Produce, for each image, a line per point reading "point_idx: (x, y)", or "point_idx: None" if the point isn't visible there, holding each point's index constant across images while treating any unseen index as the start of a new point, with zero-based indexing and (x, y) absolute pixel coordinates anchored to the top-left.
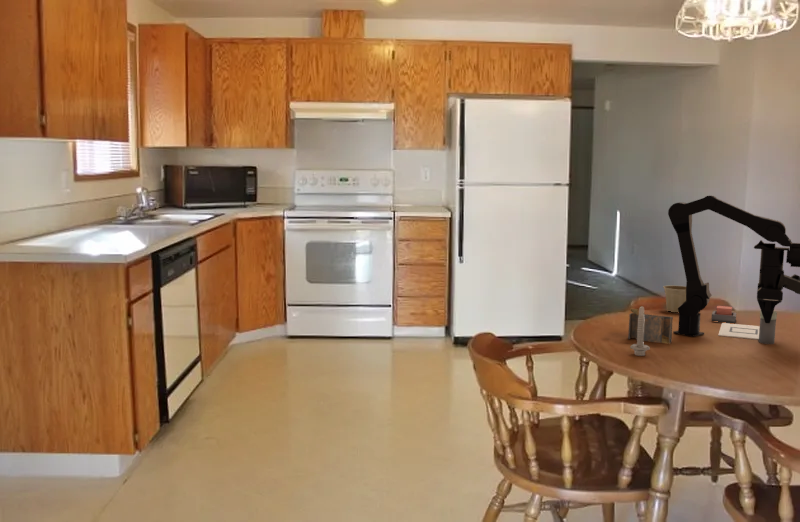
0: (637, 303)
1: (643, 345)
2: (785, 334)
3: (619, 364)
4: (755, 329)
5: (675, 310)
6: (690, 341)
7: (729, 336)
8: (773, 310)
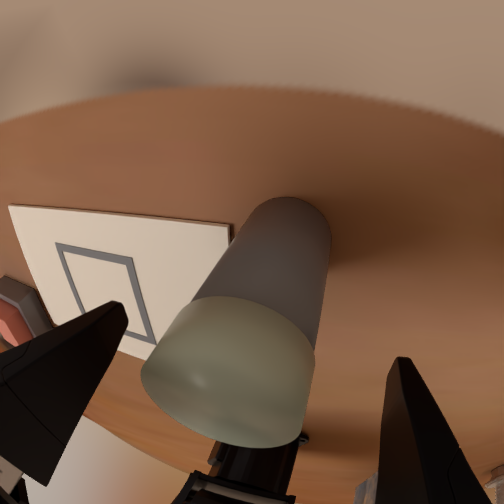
0: None
1: (499, 481)
2: (48, 140)
3: None
4: (60, 251)
5: None
6: (371, 442)
7: None
8: (471, 469)
